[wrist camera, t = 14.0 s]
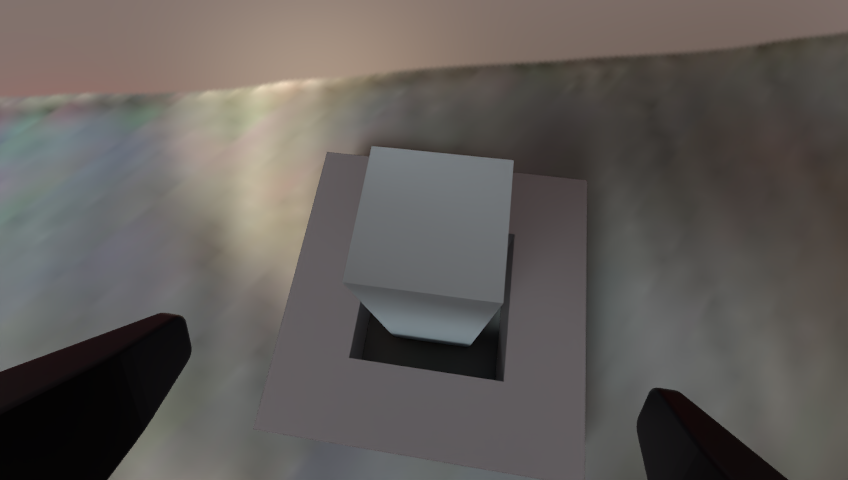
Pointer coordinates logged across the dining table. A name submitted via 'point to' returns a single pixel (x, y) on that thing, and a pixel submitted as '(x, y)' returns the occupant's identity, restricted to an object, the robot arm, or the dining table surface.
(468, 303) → the slate block
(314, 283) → the square socket base
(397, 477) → the dining table surface
